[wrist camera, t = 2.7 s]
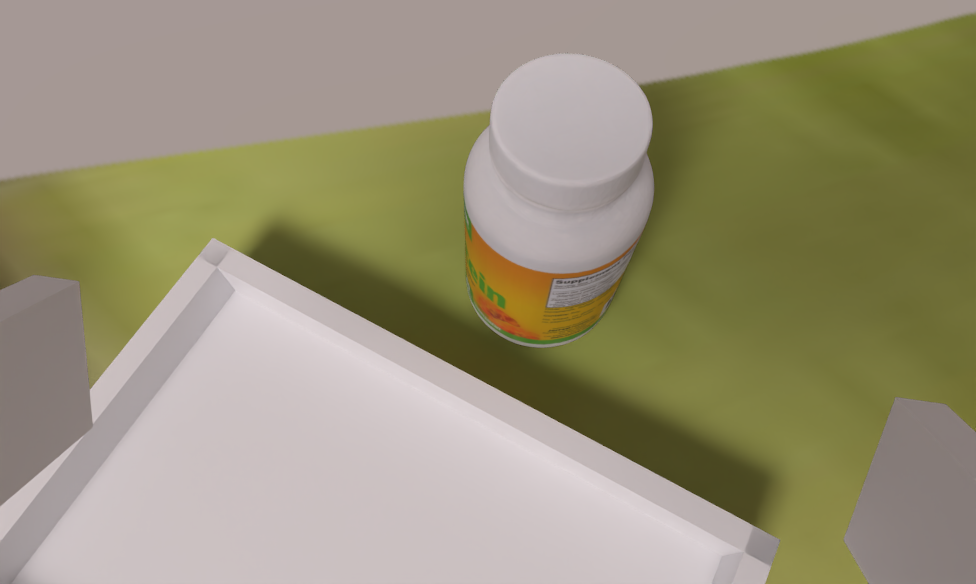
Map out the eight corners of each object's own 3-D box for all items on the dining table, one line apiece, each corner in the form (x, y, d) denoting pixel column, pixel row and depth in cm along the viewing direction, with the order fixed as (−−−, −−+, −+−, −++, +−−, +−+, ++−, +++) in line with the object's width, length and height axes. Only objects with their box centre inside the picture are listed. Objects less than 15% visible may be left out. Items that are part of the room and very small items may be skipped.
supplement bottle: (444, 246, 26) (428, 65, 17) (573, 201, 27) (620, 6, 18) (500, 374, 24) (513, 241, 15) (637, 319, 25) (724, 166, 16)
